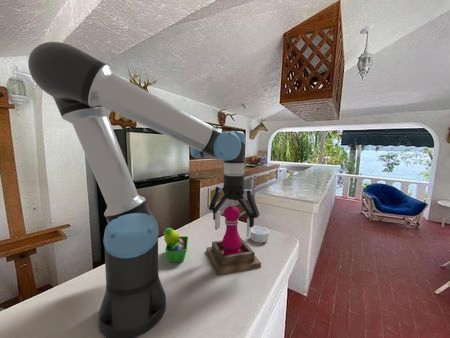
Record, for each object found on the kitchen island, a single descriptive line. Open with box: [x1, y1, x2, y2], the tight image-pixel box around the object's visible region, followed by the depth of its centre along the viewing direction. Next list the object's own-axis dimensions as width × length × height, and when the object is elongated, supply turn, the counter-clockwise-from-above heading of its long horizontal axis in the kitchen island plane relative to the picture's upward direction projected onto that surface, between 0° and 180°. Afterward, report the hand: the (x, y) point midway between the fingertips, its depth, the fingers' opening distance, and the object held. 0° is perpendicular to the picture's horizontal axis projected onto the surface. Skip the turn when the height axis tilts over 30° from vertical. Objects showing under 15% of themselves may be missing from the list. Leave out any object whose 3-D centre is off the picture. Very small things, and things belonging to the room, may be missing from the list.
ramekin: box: [249, 226, 270, 244], centre depth 91 cm, size 9×9×4 cm
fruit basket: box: [163, 227, 189, 263], centre depth 75 cm, size 11×9×11 cm
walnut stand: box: [205, 238, 262, 276], centre depth 74 cm, size 16×16×4 cm
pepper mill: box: [221, 202, 242, 256], centre depth 73 cm, size 7×7×20 cm
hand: (232, 231), depth 74 cm, fingers open, 12 cm apart
